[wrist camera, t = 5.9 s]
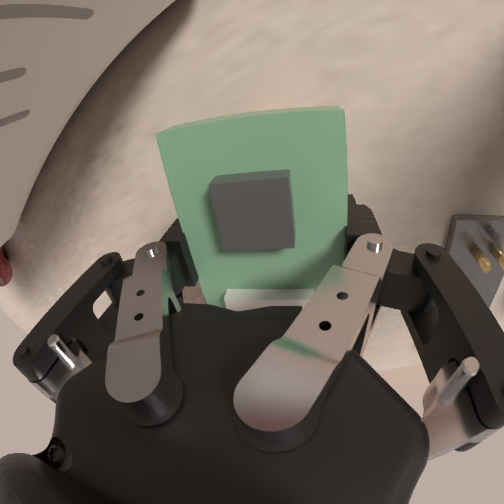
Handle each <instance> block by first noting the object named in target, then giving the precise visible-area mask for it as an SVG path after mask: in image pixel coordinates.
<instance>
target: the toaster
mask: <svg viewBox="0 0 504 504" xmlns="http://www.w3.org/2000/svg"><path fill="white" fill-rule="evenodd" d="M174 1H175V0H0V247H1V246H2V245H3V244H4V243H6V242H7V241H8V240H9V239H10V238H11V237H12V236H13V234H14V233H15V231H16V228H17V225H18V222H21V221H22V215H21V214H22V212H23V209H24V207H25V204H26V202H27V199H28V197H29V194H30V192H31V190H32V187H33V185H34V183H35V181H36V179H37V177H38V174H39V172H40V170H41V168H42V166H43V164H44V162H45V160H46V158H47V156H48V155H49V153H50V151H51V149H52V147H53V145H54V144H55V142H56V140H57V138H58V137H59V135H60V133H61V132H62V130H63V128H64V127H65V125H66V123H67V122H68V120H69V119H70V117H71V116H72V114H73V113H74V111H75V110H76V108H77V107H78V105H79V104H80V102H81V101H82V99H83V98H84V97H85V95H86V94H87V93H88V91H89V90H90V89H91V87H92V86H93V85H94V83H95V82H96V81H97V79H98V78H99V77H100V76H101V74H102V73H103V72H104V71H105V69H106V68H107V67H108V66H109V65H110V64H111V62H112V61H113V60H114V59H115V58H116V57H117V55H118V54H119V53H120V52H121V51H122V50H123V49H124V48H125V47H126V46H127V45H128V44H129V43H130V41H131V40H132V39H133V38H134V37H135V36H136V35H137V34H138V33H139V32H140V31H141V30H142V29H144V28H145V27H146V26H147V25H148V24H149V23H150V22H151V21H152V20H153V19H154V18H155V17H156V16H158V15H159V14H160V13H161V12H162V11H163V10H164V9H166V8H167V7H168V6H169V5H170V4H172V3H173V2H174Z"/></svg>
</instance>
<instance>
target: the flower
mask: <svg viewBox="0 0 504 504" xmlns="http://www.w3.org/2000/svg"><path fill="white" fill-rule="evenodd" d="M8 261H9V260H6V258H5V257H4V255H3V248H2V246H1V247H0V286H5V285H7V284H8V283H9V282H10V280H11V277H12V267H11V265H10V264H9V262H8Z"/></svg>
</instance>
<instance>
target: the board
mask: <svg viewBox="0 0 504 504" xmlns="http://www.w3.org/2000/svg"><path fill="white" fill-rule="evenodd" d="M156 138H157V142H158V146H159V150H160V154H161V158H162V162H163V166H164V169H165V173H166V177H167V180H168V184H169V188H170V191H171V195H172V198H173V202H174V205H175V209H176V212H177V215H178V219H179V222H180V225H181V229H182V232H183V233H185V236H186V239H187V243H188V246H189V249H190V252H191V255H192V258H193V261H194V264H195V268H196V271H197V274H198V277H199V279H198V281H199V284H200V287H201V289H202V292H203V295H204V298H205V301H206V304H210V305H214V306H218V307H222V308H226V309H230V310H234V311H244V310H250V309H256V308H261V307H267V306H302V309H303V308H304V306H305V305H306V304H307V302H308V301H309V299H310V298H311V296H312V295H313V293H314V292H315V291H316V289H317V288H318V286H319V285H320V283H321V282H322V280H323V279H324V277H325V276H326V274H327V273H328V271H329V270H330V268H331V267H332V266H333V265H339V266H341V265H342V264H343V262H344V246H345V226H347V210H348V176H347V144H346V126H345V112H344V110H343V109H342V108H340V107H339V106H319V107H299V108H285V109H274V110H264V111H256V112H248V113H241V114H234V115H227V116H221V117H215V118H210V119H204V120H199V121H194V122H189V123H185V124H180V125H176V126H173V127H170V128H168V129H166V130H163V131H161V132H159V133H157V134H156Z"/></svg>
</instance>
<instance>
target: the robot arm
mask: <svg viewBox="0 0 504 504" xmlns="http://www.w3.org/2000/svg"><path fill="white" fill-rule="evenodd" d="M393 247H394V246H393V242H392V241H391V240H390V239H389V238H387V237H386V236H383V235H382V233H381V231H380V229H379V226H378V224H377V222H376V219H375V217H374V215H373V213H372V211H371V209H370V208H368V207H367V206H366V205H357V204H356V202H355V199H354V197H353V194H348V210H347V226H345V246H344V262H343V264H342V265H341V266H339V265H333V266H332V267H331V268H330V270H329V271H328V273H327V274H326V276H325V277H324V279H323V280H322V282H321V283H320V285H319V286H318V288H317V289H316V291H315V292H314V293H313V295H312V296H311V298H310V299H309V301H308V302H307V304H306V305H305V306H304V308H303V309H302V306H267V307H261V308H256V309H250V310H244V311H234V310H230V309H226V308H222V307H218V306H214V305H210V304H189V303H186V298H185V294H184V291H183V288H184V286H195V285H196V283H197V281H198V279H199V277H198V274H197V271H196V268H195V264H194V261H193V258H192V255H191V252H190V249H189V246H188V243H187V239H186V236H185V233H183V232H182V229H181V225H180V222H179V219H178V218H177V219H176V220H175V221H174V223H173V224H172V226H170V228H169V229H168V231H167V232H166V233H165V234H164V235H163V237H162V238H161V239H160V241H157V242H152V243H149V244H146V245H145V246H143V247H141V248H140V249H139V250H138V251H137V253H136V255H135V259H131V260H127V261H123V260H122V258H121V256H120V254H119V253H117V252H112V253H108V254H106V255H104V256H102V257H100V258H99V259H98V260H97V261H96V262H95V263H94V264H93V265H92V266H91V267H90V268H89V269H88V270H87V271H86V272H85V273H84V274H83V275H82V276H81V277H80V278H79V279H78V280H77V281H76V282H75V283H74V284H73V285H72V286H71V287H70V288H69V289H68V290H67V291H66V292H65V293H64V294H63V295H62V296H61V297H60V298H59V300H58V301H57V302H56V303H55V304H54V305H53V306H52V307H51V308H50V309H49V311H48V312H47V313H46V314H45V315H44V316H43V317H42V319H41V320H40V321H39V322H38V323H37V324H36V326H35V327H34V328H33V329H32V330H31V332H30V333H29V334H28V335H27V337H26V338H25V339H24V340H23V341H22V343H21V344H20V345H19V347H18V348H17V349H16V351H15V353H14V357H13V363H14V366H16V367H17V368H18V370H19V371H20V372H21V373H22V374H23V375H24V376H25V377H27V379H28V381H29V382H30V383H32V385H34V386H35V387H36V388H37V389H38V390H39V391H40V392H41V393H42V394H44V395H45V396H46V397H47V398H49V399H51V400H52V401H53V402H54V403H55V404H56V412H55V423H54V429H53V433H52V438H51V441H50V443H49V445H48V447H47V448H46V449H45V450H44V451H42V452H41V453H38V454H35V455H29V454H24V453H13V454H8V455H6V456H4V457H2V458H1V459H0V504H408V503H409V500H410V498H411V495H412V493H413V490H414V488H415V486H416V484H417V482H418V480H419V478H420V476H421V474H422V472H423V470H424V468H425V466H426V463H427V461H429V460H431V459H434V458H436V457H438V456H441V455H443V454H446V453H448V452H450V451H452V450H456V451H466V450H469V449H471V448H472V447H474V446H475V445H477V444H478V443H480V442H481V441H483V440H484V439H486V438H487V437H489V436H490V435H492V434H493V433H495V432H496V431H497V430H499V429H500V428H501V427H503V426H504V332H503V330H502V329H501V327H500V325H499V324H498V322H497V320H496V319H495V317H494V316H493V314H492V312H491V311H490V309H489V308H488V306H487V305H486V303H485V302H484V300H483V299H482V297H481V296H480V294H479V293H478V291H477V290H476V289H475V287H474V286H473V284H472V283H471V282H470V280H469V279H468V277H467V276H466V275H465V273H464V272H463V271H462V270H461V268H460V267H459V266H458V264H457V263H456V262H455V261H454V259H453V258H452V257H451V256H450V254H449V253H448V252H447V251H446V250H445V249H444V248H442V247H440V246H438V245H435V244H430V243H425V244H421V245H419V246H417V247H416V249H415V254H412V253H406V252H401V251H398V250H396V249H393ZM105 290H106V292H107V294H108V296H109V297H110V299H111V301H112V304H111V305H110V306H109V307H108V308H107V309H106V311H105V312H104V313H103V314H102V316H101V317H100V318H99V319H97V317H96V316H95V314H94V312H93V304H94V302H95V301H96V300H97V298H98V297H99V296H100V295H101V294H102V293H103V292H104V291H105ZM382 306H384V307H389V308H394V309H399V310H401V314H402V316H403V318H404V320H405V323H406V325H407V327H408V330H409V332H410V334H411V337H412V339H413V341H414V344H415V346H416V349H417V351H418V354H419V356H420V359H421V361H422V364H423V367H424V369H425V372H426V375H427V377H428V380H429V383H430V385H429V386H428V388H427V389H426V391H425V393H424V395H423V406H424V413H423V418H421V417H420V416H419V414H418V413H417V412H416V411H415V410H414V409H413V408H412V407H411V406H409V404H408V403H407V402H406V401H405V400H404V399H403V398H402V397H401V396H400V395H399V394H398V393H397V392H396V391H395V390H394V389H393V388H392V387H391V386H390V385H389V384H388V383H387V382H386V381H385V380H384V379H383V378H382V377H381V376H380V375H379V374H378V373H377V372H376V371H375V370H374V369H373V368H372V367H371V366H370V365H369V364H368V363H367V362H366V361H365V360H364V359H363V358H362V355H363V353H364V350H365V347H366V344H367V342H368V339H369V336H370V334H371V332H372V329H373V327H374V325H375V322H376V320H377V317H378V315H379V312H380V309H381V307H382Z"/></svg>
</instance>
